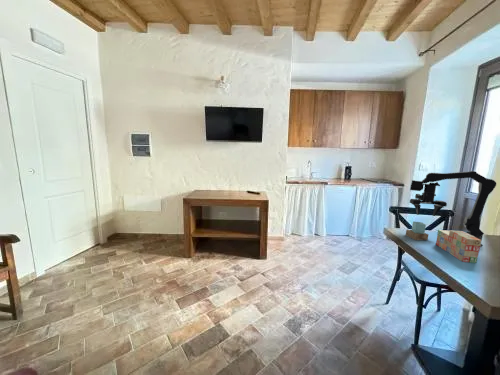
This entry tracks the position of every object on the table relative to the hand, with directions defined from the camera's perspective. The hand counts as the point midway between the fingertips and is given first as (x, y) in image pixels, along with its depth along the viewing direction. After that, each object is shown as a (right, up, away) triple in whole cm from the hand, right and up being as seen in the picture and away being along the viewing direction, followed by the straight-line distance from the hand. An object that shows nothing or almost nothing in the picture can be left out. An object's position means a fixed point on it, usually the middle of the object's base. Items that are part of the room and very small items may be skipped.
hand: (425, 215), depth 144 cm
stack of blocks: (-6, -17, -27) cm, 32 cm away
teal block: (-10, -10, -6) cm, 16 cm away
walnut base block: (-10, -14, -6) cm, 18 cm away
